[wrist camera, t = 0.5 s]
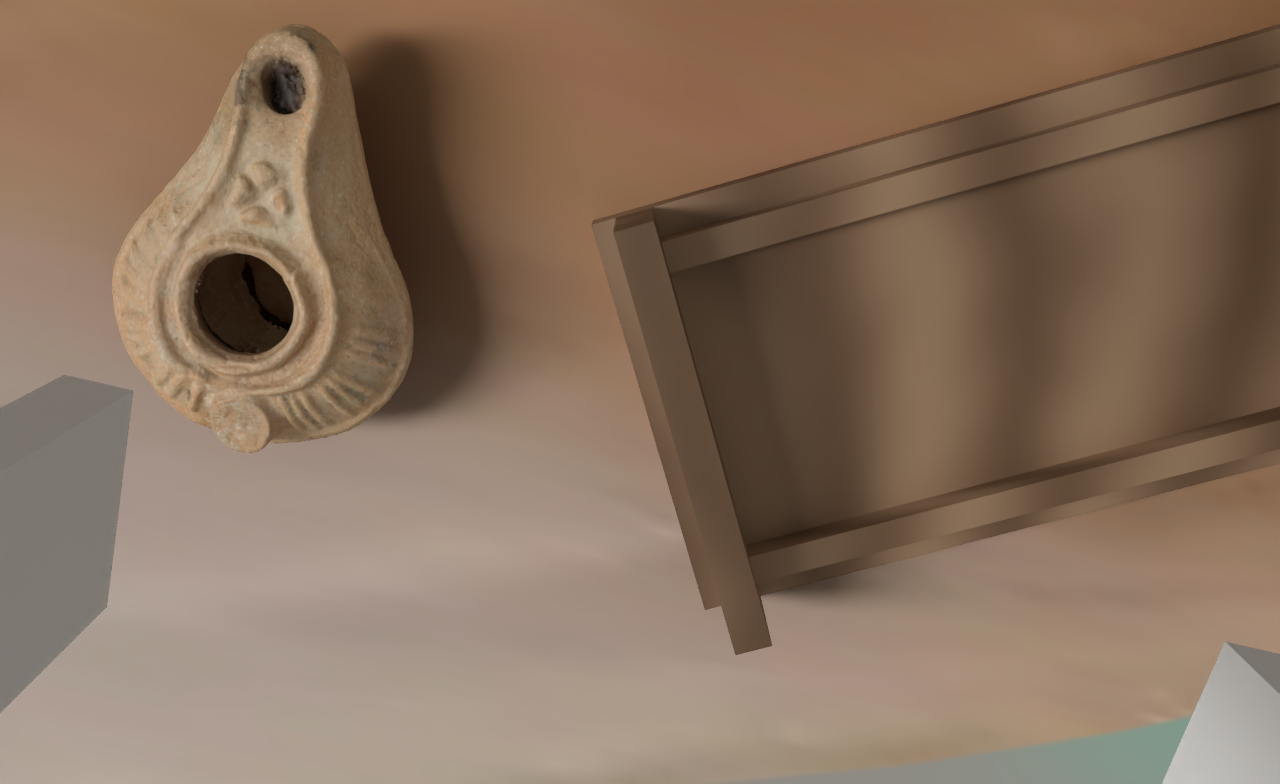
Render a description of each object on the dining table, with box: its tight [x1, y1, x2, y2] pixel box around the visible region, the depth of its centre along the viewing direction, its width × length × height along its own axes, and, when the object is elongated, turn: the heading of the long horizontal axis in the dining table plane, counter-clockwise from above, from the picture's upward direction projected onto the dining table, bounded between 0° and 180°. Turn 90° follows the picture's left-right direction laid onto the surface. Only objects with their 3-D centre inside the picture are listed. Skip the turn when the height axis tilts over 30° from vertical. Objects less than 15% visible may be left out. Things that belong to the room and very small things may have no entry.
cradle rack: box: [592, 25, 1280, 655], centre depth 34 cm, size 24×14×4 cm, turn 106°
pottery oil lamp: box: [112, 24, 414, 453], centre depth 33 cm, size 9×12×7 cm
